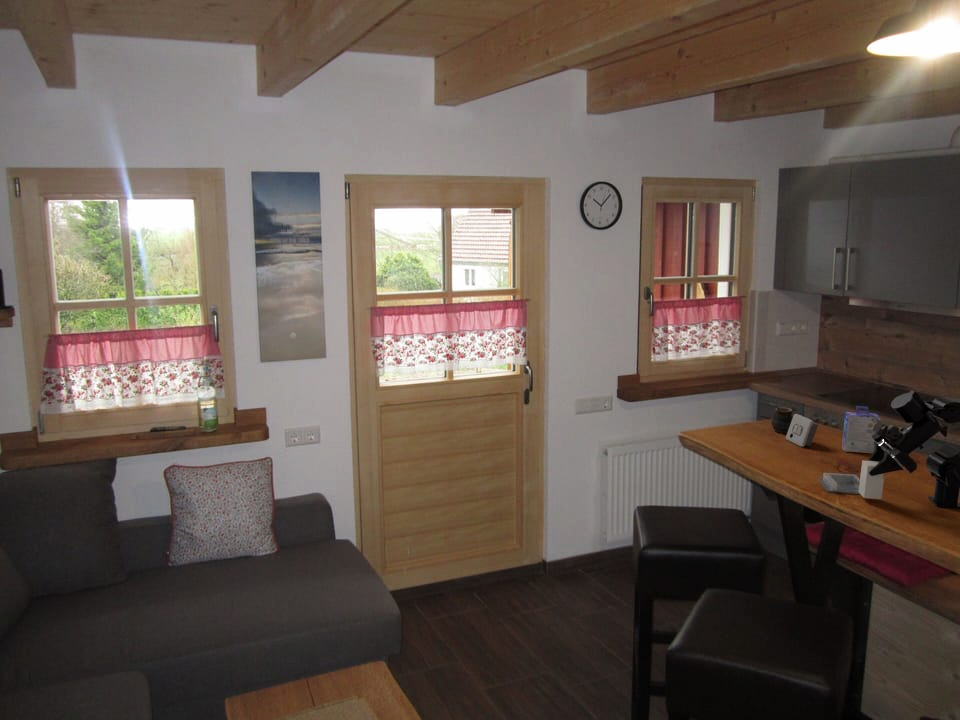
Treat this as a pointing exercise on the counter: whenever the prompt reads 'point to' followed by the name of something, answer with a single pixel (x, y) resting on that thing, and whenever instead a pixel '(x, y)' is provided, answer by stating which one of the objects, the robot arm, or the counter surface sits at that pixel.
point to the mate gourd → (782, 419)
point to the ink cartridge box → (859, 431)
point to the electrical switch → (801, 431)
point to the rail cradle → (840, 483)
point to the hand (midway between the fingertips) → (867, 471)
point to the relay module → (870, 481)
